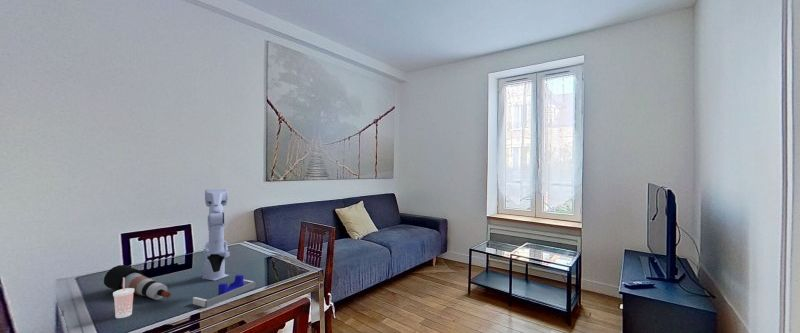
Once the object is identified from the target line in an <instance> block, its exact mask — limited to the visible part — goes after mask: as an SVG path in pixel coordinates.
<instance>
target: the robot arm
mask: <svg viewBox="0 0 800 333" xmlns="http://www.w3.org/2000/svg"><path fill="white" fill-rule="evenodd" d="M228 191H229V190H228V189H227V188H217V189H215V188H213V189H211V188H210V189H205V190H204V201H205V206H206V207H209V208H208V214H207V228H208V242H207V243H206V244H205V247H204V249H203V251H202V253H203V254H204V260H205V261H204V263H203V276H202V277H201V278H202V279H204V280H210V281H214V282H215V281H218V280H221V279H224V278H226V277H229V276H230V275H229V274H228V273H227V274H226V272H225V271H226V270H225V269H226V268H225V267H226V260H225V259H226V258H228V257H230V256H231V251H228V250H229V249H228V247H229V246H228V242H227V240H225V232H224V231H225V227H224V226H225V224H226V214H225V211H224V208H225V206H227V203H228V199H229V198H228V195H229V192H228Z"/></svg>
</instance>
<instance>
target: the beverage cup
mask: <svg viewBox="0 0 800 333" xmlns="http://www.w3.org/2000/svg"><path fill="white" fill-rule="evenodd" d="M133 292H134V288H125V277H124V278H123V289H121V290H117V291H116V290H114V291H113V292H112V297H113V301H114V313H115V318H116V319H123V318H128V317H130V316H132V313H133V305H134V304H133V303H134V293H133Z"/></svg>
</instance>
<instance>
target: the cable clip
mask: <svg viewBox="0 0 800 333" xmlns="http://www.w3.org/2000/svg"><path fill="white" fill-rule="evenodd" d="M243 279H244V275H242V274H236V275H235V276H234V281H232V282H231V283H230V284H228V283H219V284H218V291H217V292H218V295H217V296H219V295H221V294H224V293H226V292H229V291H231V290H234V289H236V288H239V287H241V286H243ZM228 285H229V286H228Z"/></svg>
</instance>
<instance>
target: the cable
mask: <svg viewBox="0 0 800 333" xmlns="http://www.w3.org/2000/svg"><path fill="white" fill-rule="evenodd" d="M124 277H125V288H134V292H133V294H135V295H138V296H143V297H147V298H150V299H153V300H160V299H163V298H166V299H169V298H170V297H171V295H172V293H171V292H170V291H168V286H167V285H166V284H164V283H161V282H158V281H156V280H155V279H152V278H150V277H147V276H145V273H144V272H143V271H142V270H139V269H137V268H134V267H132V266H129V265H125V264H120V265H116V266H113V267H112V268H111V269H109V270H108V271H107V272H106V274H105V276H104V277H103V284H104V285H105V287H106V288H109V289H111V290H113V291H117V290H121V289H123V278H124Z"/></svg>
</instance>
